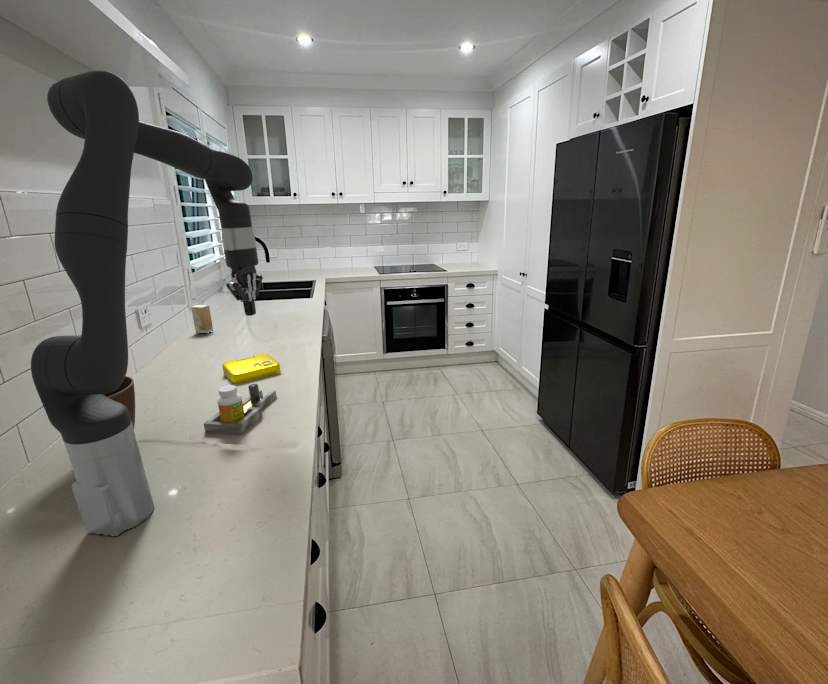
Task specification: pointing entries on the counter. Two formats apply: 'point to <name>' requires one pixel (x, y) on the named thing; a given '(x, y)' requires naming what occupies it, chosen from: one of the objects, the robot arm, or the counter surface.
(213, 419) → the docking base
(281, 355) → the counter surface
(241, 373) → the element tile
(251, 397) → the locking bolt
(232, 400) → the supplement bottle
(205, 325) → the skincare box
